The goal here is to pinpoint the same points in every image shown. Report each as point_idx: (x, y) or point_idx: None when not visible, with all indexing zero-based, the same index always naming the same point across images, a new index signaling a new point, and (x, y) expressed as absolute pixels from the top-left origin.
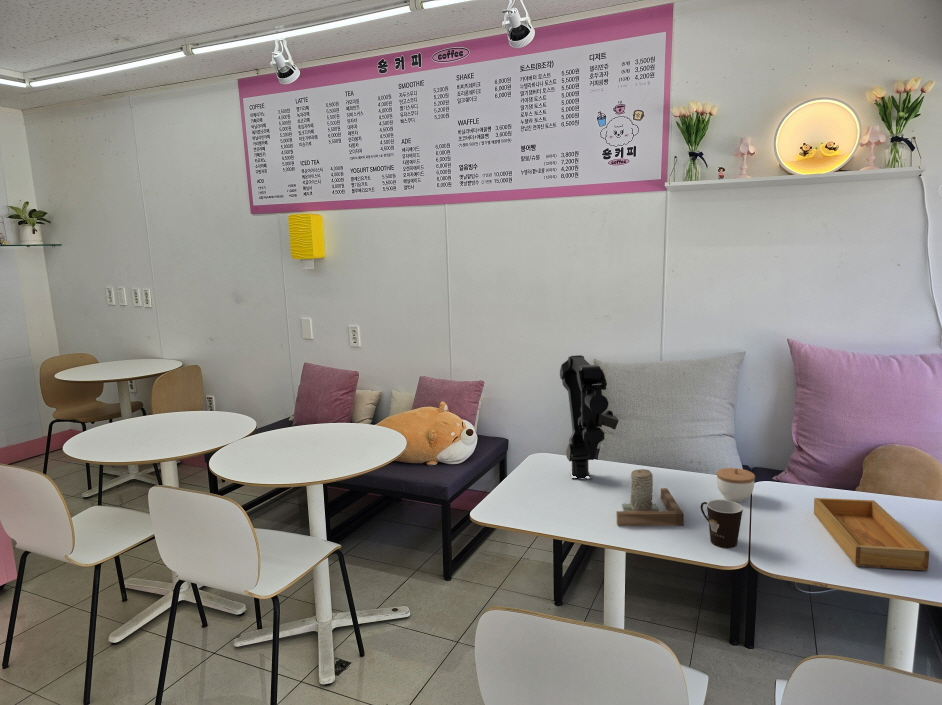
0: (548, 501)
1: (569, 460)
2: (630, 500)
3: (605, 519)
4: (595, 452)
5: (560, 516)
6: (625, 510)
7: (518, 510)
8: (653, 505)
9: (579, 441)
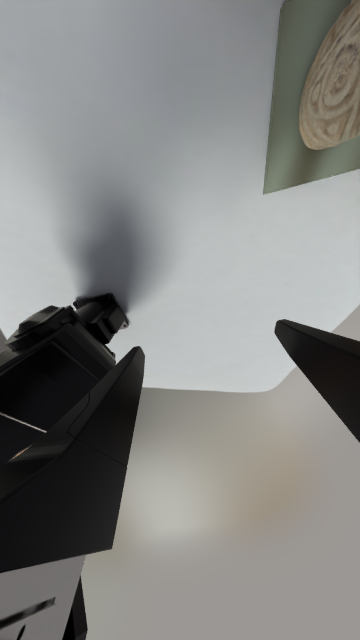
0: (232, 342)
1: (114, 356)
2: (346, 137)
3: (335, 236)
4: (332, 336)
5: (293, 319)
6: (312, 177)
7: (261, 366)
8: (301, 19)
9: (73, 393)
